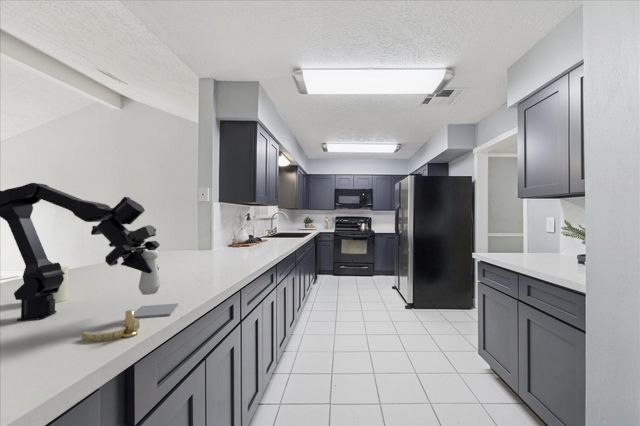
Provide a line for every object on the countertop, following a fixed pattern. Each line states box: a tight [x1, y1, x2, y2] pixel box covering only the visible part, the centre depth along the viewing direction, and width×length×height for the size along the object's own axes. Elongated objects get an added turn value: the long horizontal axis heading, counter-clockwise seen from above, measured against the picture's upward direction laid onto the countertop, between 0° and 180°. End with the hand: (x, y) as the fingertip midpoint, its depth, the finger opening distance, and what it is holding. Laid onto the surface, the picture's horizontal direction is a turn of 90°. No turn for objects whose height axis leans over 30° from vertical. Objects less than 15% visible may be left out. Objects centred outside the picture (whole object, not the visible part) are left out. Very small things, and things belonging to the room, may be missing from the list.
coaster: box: [134, 302, 179, 319], centre depth 90 cm, size 11×11×1 cm
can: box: [52, 266, 69, 304], centre depth 103 cm, size 9×9×12 cm
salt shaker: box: [138, 250, 161, 296], centre depth 87 cm, size 6×6×13 cm
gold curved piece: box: [81, 309, 140, 343], centre depth 73 cm, size 10×12×6 cm
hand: (154, 271), depth 88 cm, fingers closed on salt shaker, 3 cm apart
